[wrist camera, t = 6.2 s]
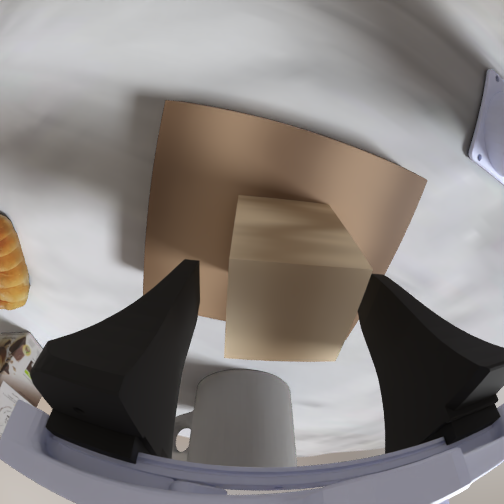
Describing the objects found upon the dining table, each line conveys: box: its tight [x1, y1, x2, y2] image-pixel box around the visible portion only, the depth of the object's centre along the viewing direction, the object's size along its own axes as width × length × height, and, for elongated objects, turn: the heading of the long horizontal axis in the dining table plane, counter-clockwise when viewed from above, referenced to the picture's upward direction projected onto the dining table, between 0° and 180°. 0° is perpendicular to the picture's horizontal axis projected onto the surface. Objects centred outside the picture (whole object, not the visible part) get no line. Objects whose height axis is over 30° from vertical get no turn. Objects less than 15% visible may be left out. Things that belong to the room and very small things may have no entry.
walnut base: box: [143, 100, 427, 340], centre depth 16 cm, size 14×12×3 cm
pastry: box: [0, 214, 30, 310], centre depth 17 cm, size 9×7×4 cm
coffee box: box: [0, 332, 43, 439], centre depth 18 cm, size 9×6×16 cm
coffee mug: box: [172, 369, 297, 467], centre depth 22 cm, size 13×10×10 cm
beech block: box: [224, 195, 373, 362], centre depth 12 cm, size 4×4×6 cm
